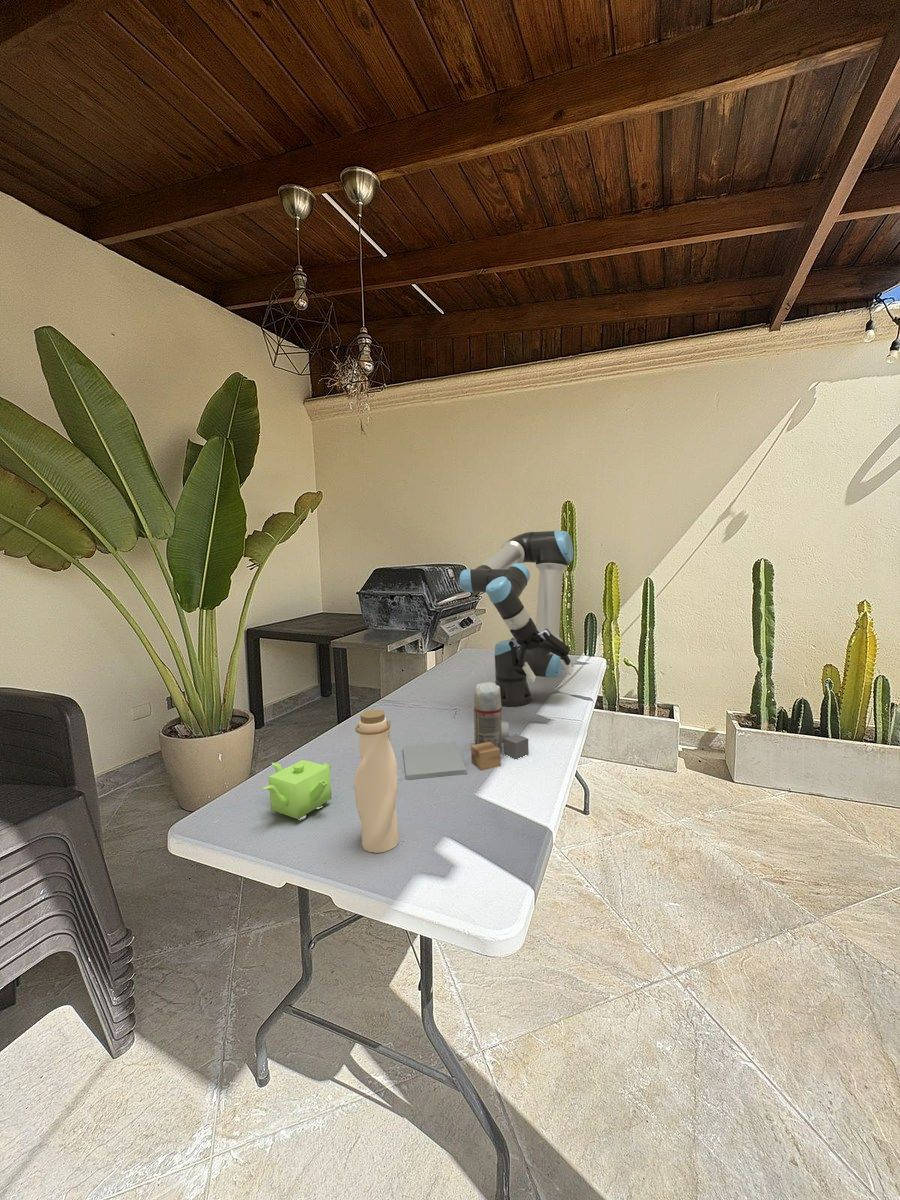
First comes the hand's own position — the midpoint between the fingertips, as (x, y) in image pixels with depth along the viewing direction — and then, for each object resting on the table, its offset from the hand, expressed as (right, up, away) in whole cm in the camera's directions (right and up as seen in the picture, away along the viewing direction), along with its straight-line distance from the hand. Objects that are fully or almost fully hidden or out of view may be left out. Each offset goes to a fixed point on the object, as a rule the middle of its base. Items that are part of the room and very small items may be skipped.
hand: (552, 676), depth 169 cm
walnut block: (-22, -21, -21) cm, 37 cm away
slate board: (-37, -22, -18) cm, 46 cm away
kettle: (-68, -26, -42) cm, 84 cm away
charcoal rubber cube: (-13, -20, -16) cm, 29 cm away
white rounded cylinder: (-17, -19, -3) cm, 26 cm away
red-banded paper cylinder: (-21, -20, -11) cm, 31 cm away
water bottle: (-47, -27, -56) cm, 78 cm away
